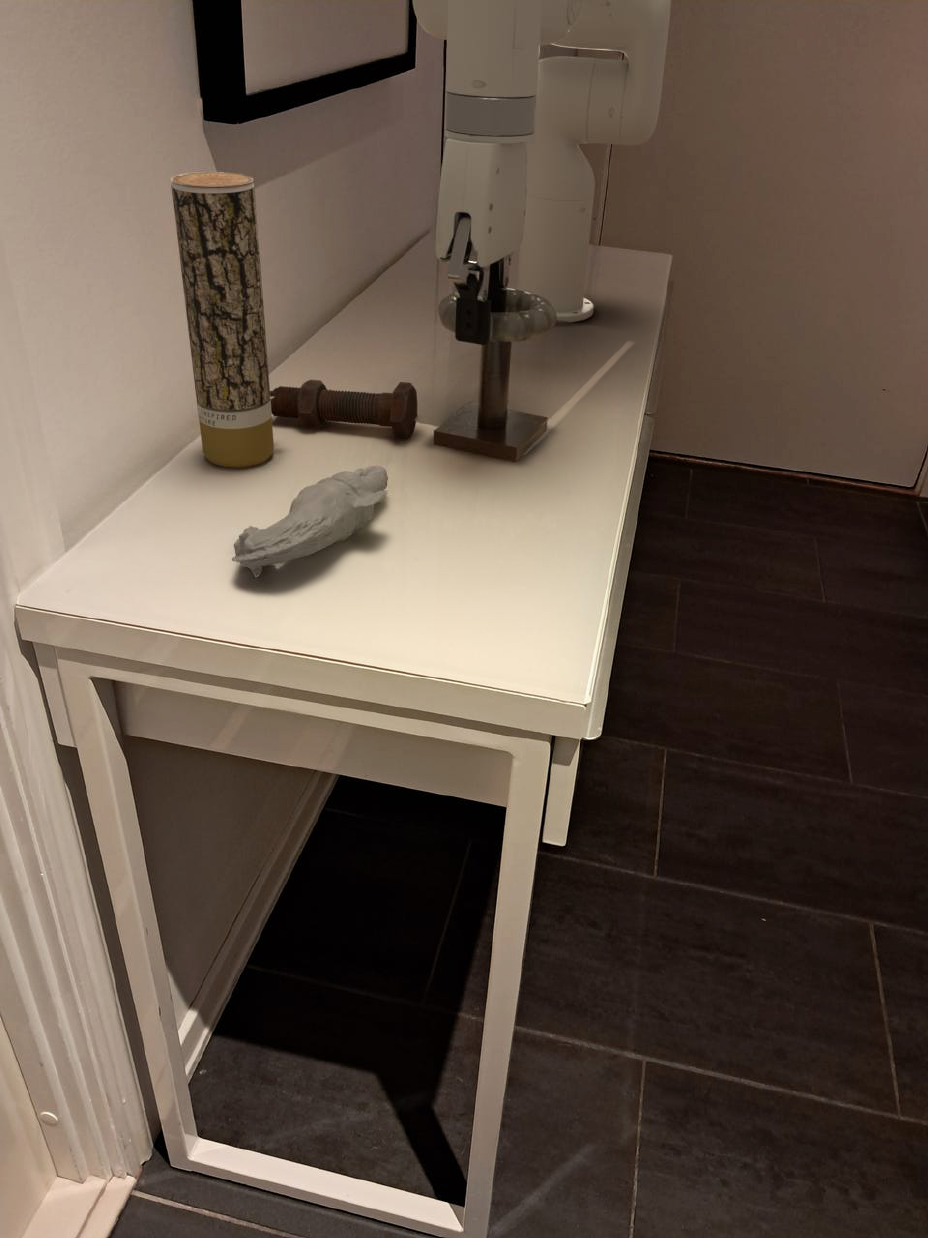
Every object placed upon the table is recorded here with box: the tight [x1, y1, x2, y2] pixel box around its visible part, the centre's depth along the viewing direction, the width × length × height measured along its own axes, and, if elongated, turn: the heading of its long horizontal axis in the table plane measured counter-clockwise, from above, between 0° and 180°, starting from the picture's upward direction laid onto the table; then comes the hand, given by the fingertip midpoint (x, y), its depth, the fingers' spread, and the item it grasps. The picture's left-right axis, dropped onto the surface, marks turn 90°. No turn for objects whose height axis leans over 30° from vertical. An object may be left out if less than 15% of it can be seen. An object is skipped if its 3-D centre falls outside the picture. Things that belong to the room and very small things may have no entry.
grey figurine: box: [231, 465, 389, 578], centre depth 83 cm, size 5×12×20 cm
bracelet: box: [437, 287, 558, 343], centre depth 95 cm, size 11×11×3 cm
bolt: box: [270, 379, 418, 441], centre depth 102 cm, size 6×5×15 cm
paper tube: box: [170, 171, 275, 468], centre depth 90 cm, size 7×7×25 cm
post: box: [433, 341, 549, 463], centre depth 99 cm, size 9×9×12 cm
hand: (480, 334), depth 93 cm, fingers closed on bracelet, 3 cm apart
